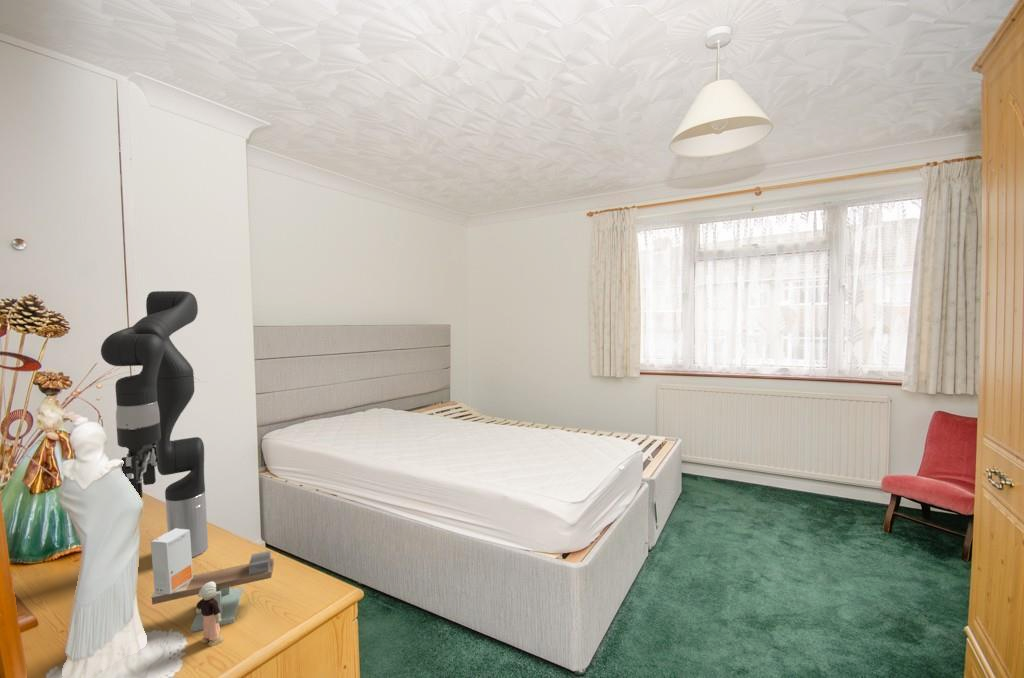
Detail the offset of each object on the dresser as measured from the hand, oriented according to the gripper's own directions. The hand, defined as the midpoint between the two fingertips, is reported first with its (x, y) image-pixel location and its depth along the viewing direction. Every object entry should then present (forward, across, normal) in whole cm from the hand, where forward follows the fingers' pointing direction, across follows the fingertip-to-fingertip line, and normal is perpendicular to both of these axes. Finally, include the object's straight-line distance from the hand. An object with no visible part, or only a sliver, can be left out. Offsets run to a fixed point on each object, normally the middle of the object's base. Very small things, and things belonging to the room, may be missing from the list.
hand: (143, 491), depth 102 cm
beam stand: (+29, +6, +15) cm, 33 cm away
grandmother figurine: (+29, +16, +15) cm, 36 cm away
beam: (+23, +6, +15) cm, 28 cm away
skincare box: (+21, +6, +7) cm, 23 cm away
